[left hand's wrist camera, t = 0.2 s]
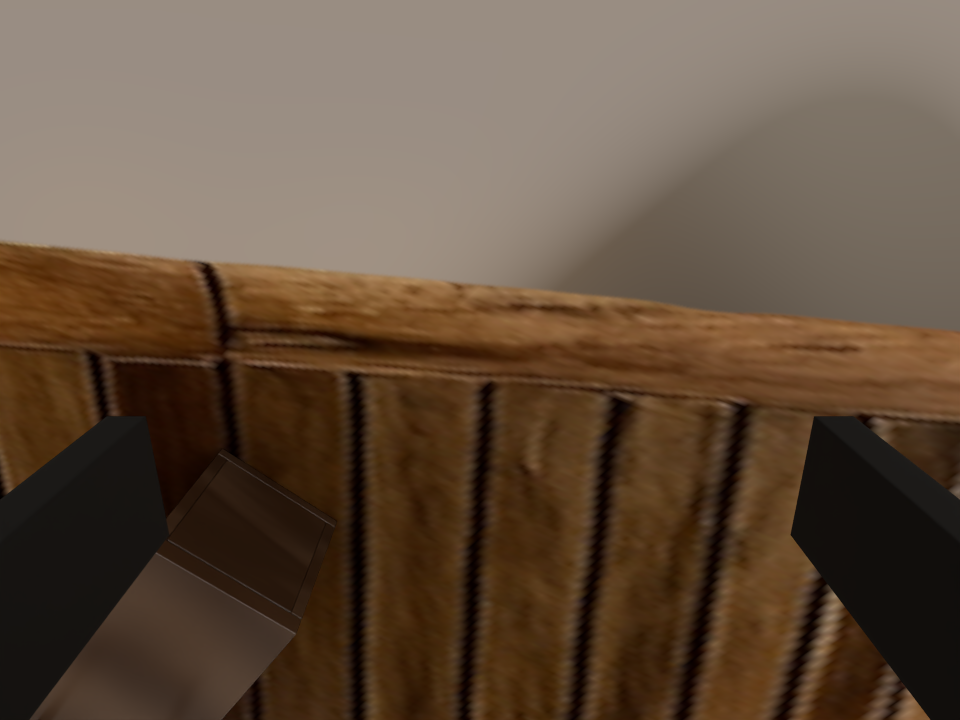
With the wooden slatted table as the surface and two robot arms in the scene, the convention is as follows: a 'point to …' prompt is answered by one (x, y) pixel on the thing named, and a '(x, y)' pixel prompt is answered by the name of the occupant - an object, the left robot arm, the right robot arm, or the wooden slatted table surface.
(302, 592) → the chest
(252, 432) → the wooden slatted table surface
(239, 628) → the lid
